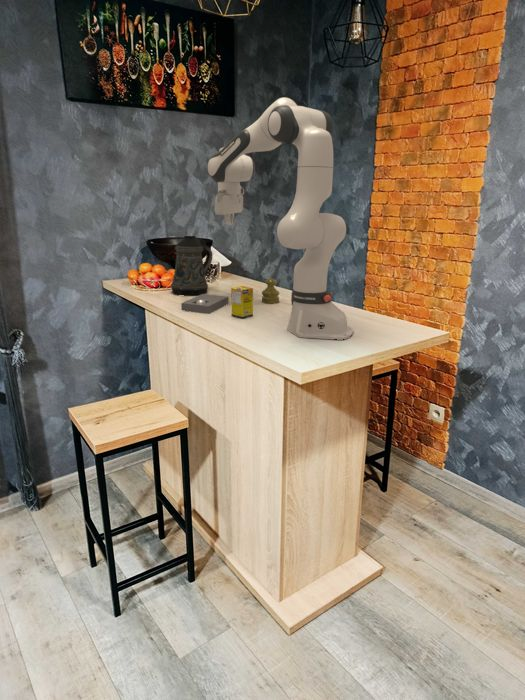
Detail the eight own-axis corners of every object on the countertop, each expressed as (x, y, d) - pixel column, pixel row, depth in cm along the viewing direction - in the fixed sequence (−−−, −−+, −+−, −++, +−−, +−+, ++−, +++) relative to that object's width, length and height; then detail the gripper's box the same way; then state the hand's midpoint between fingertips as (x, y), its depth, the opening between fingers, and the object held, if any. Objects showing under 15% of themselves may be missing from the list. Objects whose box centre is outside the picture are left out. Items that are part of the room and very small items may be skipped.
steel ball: (204, 311, 194) (208, 304, 197) (202, 305, 191) (206, 297, 194) (195, 310, 196) (199, 303, 198) (193, 303, 192) (196, 296, 195)
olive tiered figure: (281, 303, 207) (282, 279, 203) (265, 304, 204) (265, 280, 201) (275, 299, 213) (275, 276, 210) (259, 300, 211) (259, 277, 207)
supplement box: (253, 316, 186) (253, 287, 183) (242, 319, 182) (242, 290, 179) (242, 313, 190) (242, 285, 187) (231, 316, 186) (230, 287, 182)
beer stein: (164, 294, 220) (161, 237, 212) (186, 286, 237) (184, 233, 229) (196, 297, 214) (195, 239, 206) (217, 289, 231) (216, 235, 223)
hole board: (228, 303, 205) (228, 296, 204) (209, 313, 189) (208, 306, 188) (202, 300, 209) (202, 293, 208) (181, 310, 193) (181, 303, 192)
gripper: (225, 190, 188) (225, 227, 192) (245, 189, 206) (245, 223, 210) (210, 190, 190) (211, 226, 194) (232, 189, 208) (232, 223, 213)
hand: (229, 225), depth 203 cm, fingers closed
